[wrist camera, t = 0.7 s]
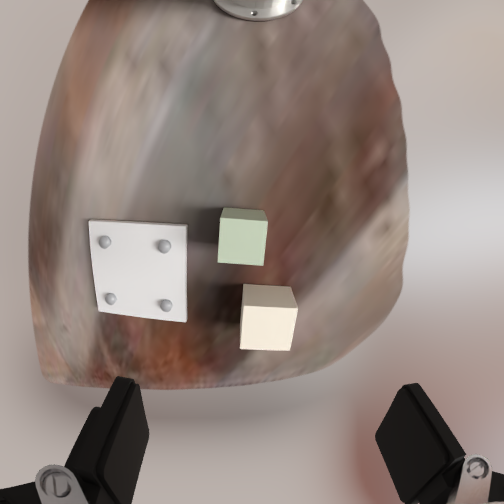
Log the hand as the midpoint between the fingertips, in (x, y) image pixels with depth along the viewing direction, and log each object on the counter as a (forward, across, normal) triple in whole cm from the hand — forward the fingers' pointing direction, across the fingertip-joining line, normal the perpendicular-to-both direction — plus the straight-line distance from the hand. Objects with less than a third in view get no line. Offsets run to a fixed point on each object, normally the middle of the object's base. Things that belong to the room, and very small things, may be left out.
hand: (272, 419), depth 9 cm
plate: (+30, +15, +7) cm, 34 cm away
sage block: (+30, +1, 0) cm, 30 cm away
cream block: (+30, -3, +11) cm, 32 cm away
